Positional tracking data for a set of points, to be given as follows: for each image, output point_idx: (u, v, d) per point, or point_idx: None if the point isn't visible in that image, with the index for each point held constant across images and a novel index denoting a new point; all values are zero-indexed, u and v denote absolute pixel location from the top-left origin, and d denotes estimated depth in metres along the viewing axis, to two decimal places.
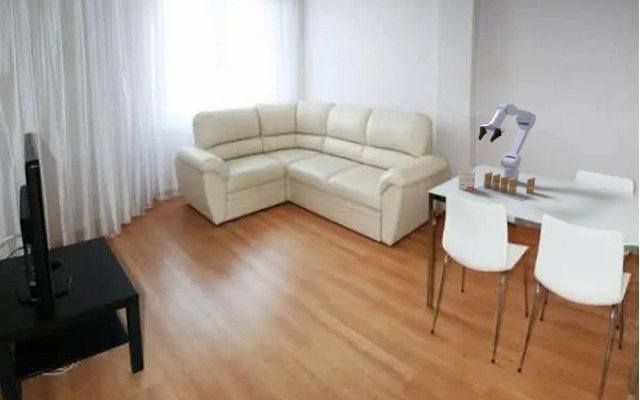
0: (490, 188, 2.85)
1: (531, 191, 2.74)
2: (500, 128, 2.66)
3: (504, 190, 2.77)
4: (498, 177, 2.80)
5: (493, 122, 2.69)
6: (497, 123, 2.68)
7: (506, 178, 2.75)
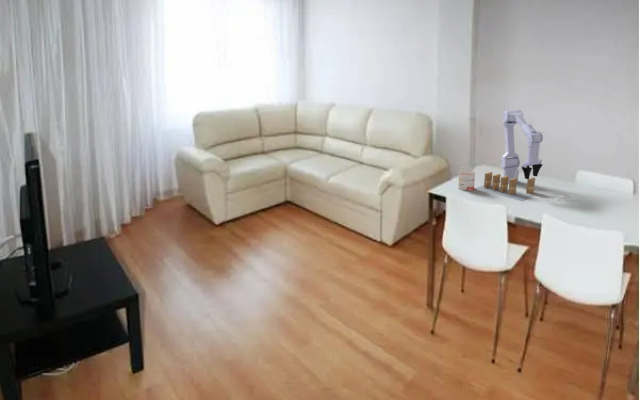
0: (490, 188, 2.85)
1: (531, 191, 2.74)
2: (540, 161, 2.70)
3: (504, 190, 2.77)
4: (498, 177, 2.80)
5: (537, 159, 2.66)
6: None
7: (506, 178, 2.75)
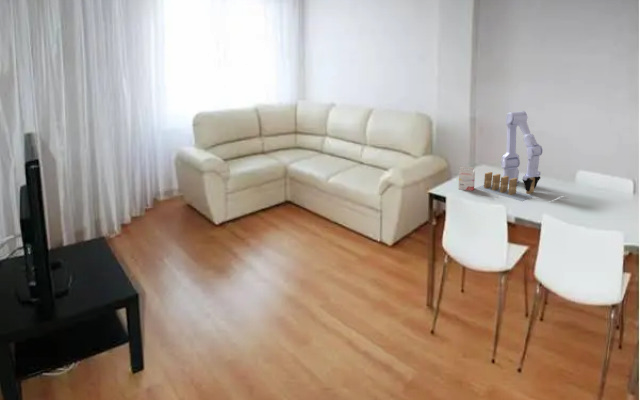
0: (490, 188, 2.85)
1: (531, 191, 2.74)
2: (539, 173, 2.73)
3: (504, 190, 2.77)
4: (498, 177, 2.80)
5: (537, 172, 2.69)
6: None
7: (506, 178, 2.75)
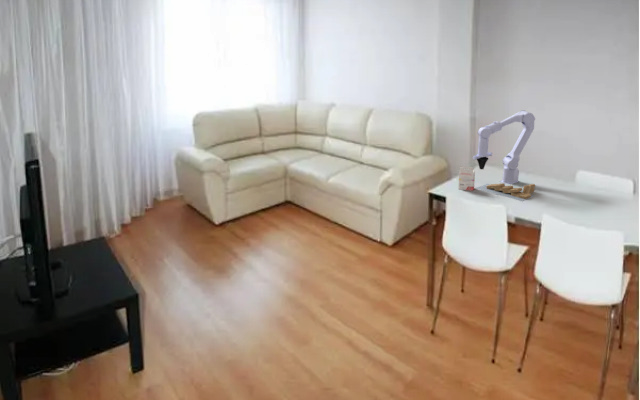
0: (490, 188, 2.85)
1: (527, 190, 2.71)
2: (490, 154, 2.91)
3: None
4: None
5: (486, 152, 2.87)
6: None
7: (518, 191, 2.71)
